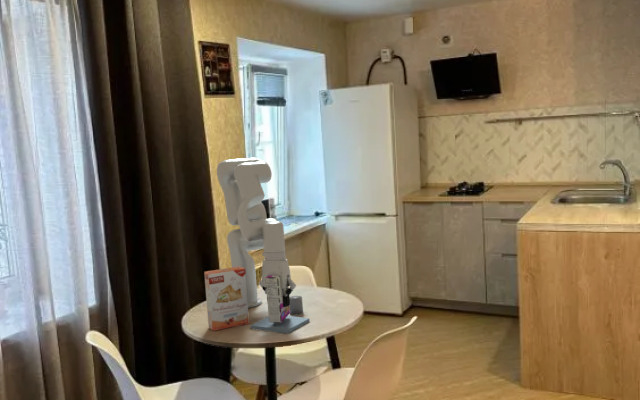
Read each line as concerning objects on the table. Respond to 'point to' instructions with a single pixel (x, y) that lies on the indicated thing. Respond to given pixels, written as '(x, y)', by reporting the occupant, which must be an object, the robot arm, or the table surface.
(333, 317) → the table surface
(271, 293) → the candy bar box
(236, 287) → the cracker box
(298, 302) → the charcoal cylinder
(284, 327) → the slate board
